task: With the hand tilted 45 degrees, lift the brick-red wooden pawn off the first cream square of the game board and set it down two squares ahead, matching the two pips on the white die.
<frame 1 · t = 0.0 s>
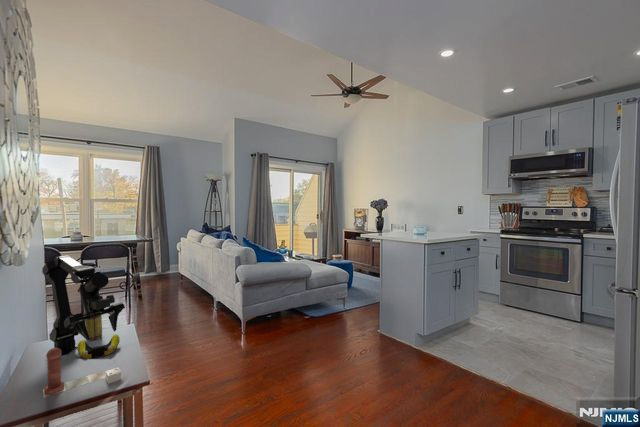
hand: (102, 335, 116), 15 cm above the table, tool tilted 35°, fingers open, 9 cm apart
sauce bottle: (93, 338, 144), on the table
pawn: (54, 389, 104), point 1 cm above the table, touching game board
die: (113, 382, 111), on the table
game board: (75, 382, 110), on the table
gaming controller: (98, 353, 131), on the table
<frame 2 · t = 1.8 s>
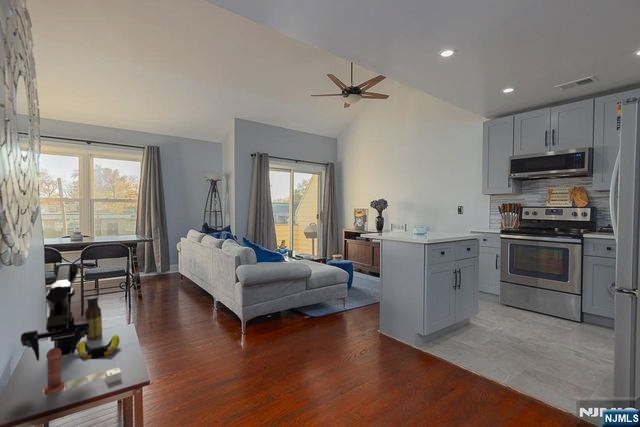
hand: (55, 356, 106), 11 cm above the table, tool tilted 45°, fingers open, 9 cm apart
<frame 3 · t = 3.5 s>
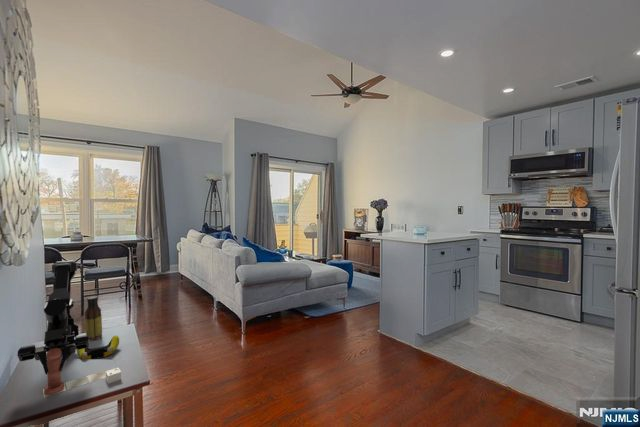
hand: (53, 372, 102), 8 cm above the table, tool tilted 45°, fingers closed on pawn, 3 cm apart
pawn: (54, 389, 104), point 1 cm above the table, touching game board, gripper
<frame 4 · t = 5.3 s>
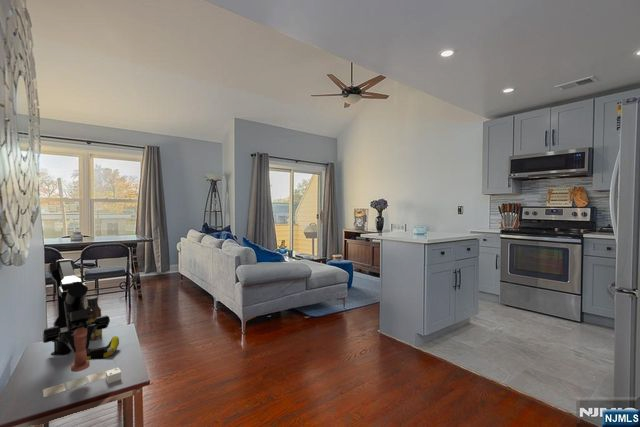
hand: (81, 350, 107), 13 cm above the table, tool tilted 45°, fingers closed on pawn, 3 cm apart
pawn: (80, 367, 108), point 7 cm above the table, touching gripper
when the fingers open (9 cm above the table, at t = 6.9 s): pawn drops 1 cm, resting on game board.
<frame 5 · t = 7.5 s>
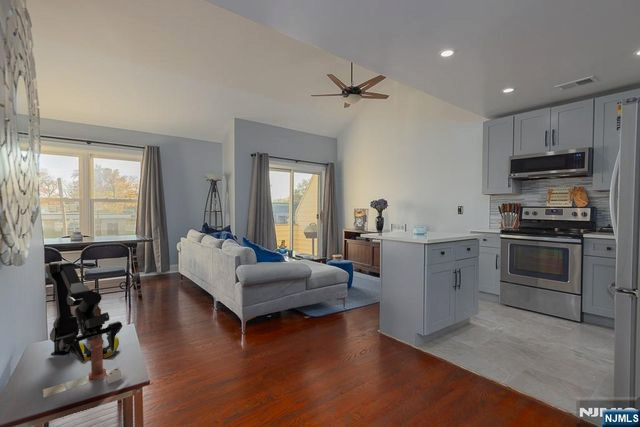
hand: (98, 355, 111), 10 cm above the table, tool tilted 45°, fingers open, 9 cm apart
pawn: (97, 376, 112), point 1 cm above the table, touching game board
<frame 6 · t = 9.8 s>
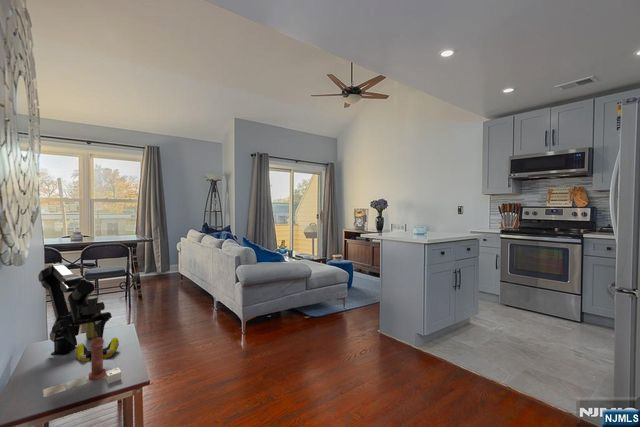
hand: (89, 342, 117), 11 cm above the table, tool tilted 40°, fingers open, 9 cm apart
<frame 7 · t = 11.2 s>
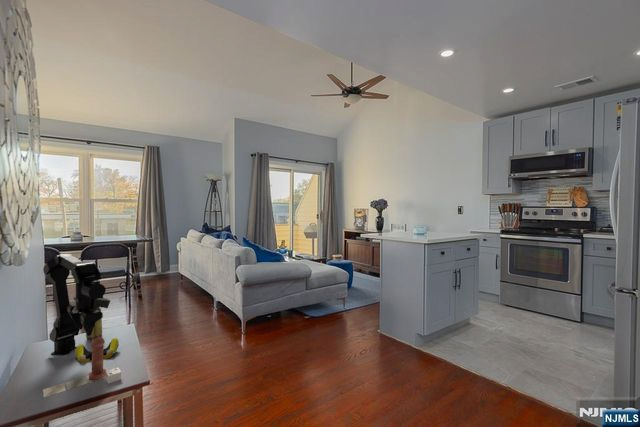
hand: (84, 332, 122), 13 cm above the table, tool pointing down, fingers open, 9 cm apart
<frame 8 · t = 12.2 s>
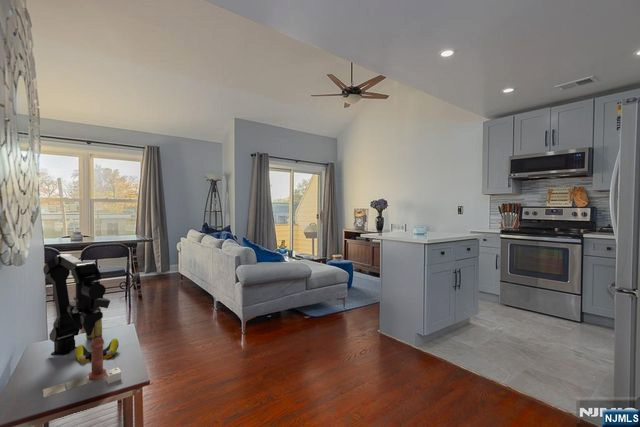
hand: (84, 332, 122), 13 cm above the table, tool pointing down, fingers open, 9 cm apart
at the end: pawn 0.0 cm from the target spot, point 1.2 cm above the table; pawn tilted 1°; the gripper is holding nothing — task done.
